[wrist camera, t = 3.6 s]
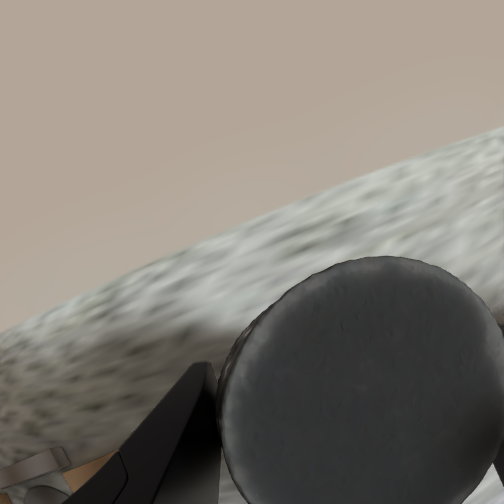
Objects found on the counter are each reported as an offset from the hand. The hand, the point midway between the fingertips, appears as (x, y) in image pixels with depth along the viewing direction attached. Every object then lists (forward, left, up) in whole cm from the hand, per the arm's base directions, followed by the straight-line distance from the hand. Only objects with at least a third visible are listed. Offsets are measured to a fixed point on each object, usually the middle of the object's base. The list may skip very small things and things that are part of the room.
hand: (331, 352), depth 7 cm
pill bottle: (-1, -1, -7) cm, 7 cm away
